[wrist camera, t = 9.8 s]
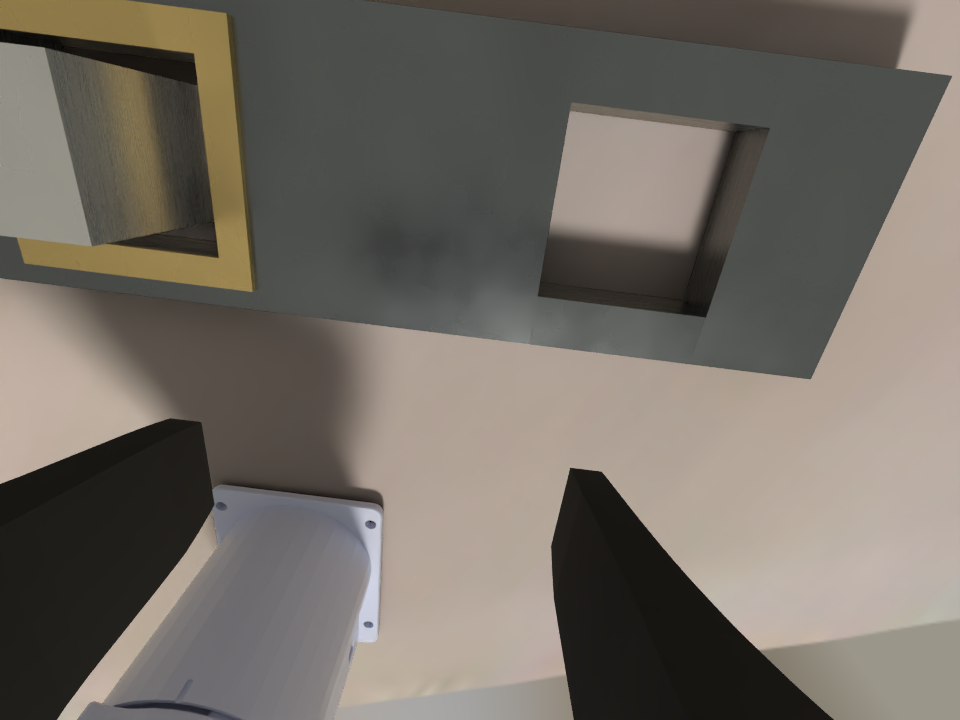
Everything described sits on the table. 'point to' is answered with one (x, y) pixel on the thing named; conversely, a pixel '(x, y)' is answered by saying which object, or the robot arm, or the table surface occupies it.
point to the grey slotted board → (491, 173)
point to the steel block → (97, 150)
